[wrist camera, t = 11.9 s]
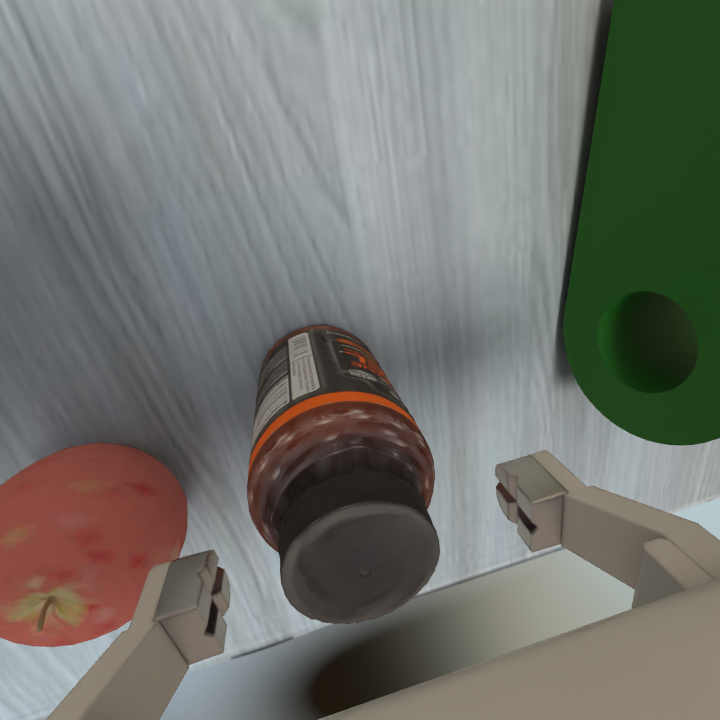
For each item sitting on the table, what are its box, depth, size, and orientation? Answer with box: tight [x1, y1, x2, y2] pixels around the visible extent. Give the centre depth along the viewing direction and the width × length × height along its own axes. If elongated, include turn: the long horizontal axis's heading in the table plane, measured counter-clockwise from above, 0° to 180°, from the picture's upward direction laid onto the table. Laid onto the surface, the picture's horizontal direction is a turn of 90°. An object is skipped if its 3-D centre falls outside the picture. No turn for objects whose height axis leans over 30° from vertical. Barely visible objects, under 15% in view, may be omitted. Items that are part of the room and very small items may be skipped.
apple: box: [0, 443, 187, 647], centre depth 15 cm, size 7×7×8 cm
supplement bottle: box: [247, 325, 440, 624], centre depth 14 cm, size 6×6×11 cm
